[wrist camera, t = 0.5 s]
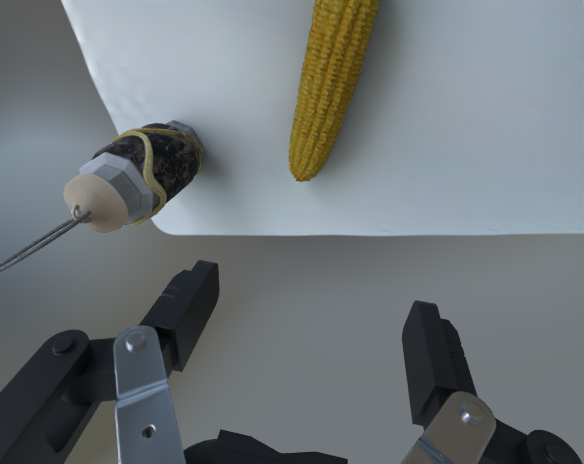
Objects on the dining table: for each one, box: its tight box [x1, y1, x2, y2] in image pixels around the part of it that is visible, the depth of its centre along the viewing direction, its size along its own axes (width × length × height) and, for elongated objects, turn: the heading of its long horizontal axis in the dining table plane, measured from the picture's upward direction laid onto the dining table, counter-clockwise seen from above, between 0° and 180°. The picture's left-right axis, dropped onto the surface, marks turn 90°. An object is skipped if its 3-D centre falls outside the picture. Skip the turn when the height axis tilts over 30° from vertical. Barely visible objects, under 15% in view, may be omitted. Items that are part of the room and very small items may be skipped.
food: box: [289, 0, 380, 182], centre depth 33 cm, size 21×6×6 cm, turn 169°
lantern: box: [0, 121, 204, 271], centre depth 31 cm, size 9×8×25 cm
